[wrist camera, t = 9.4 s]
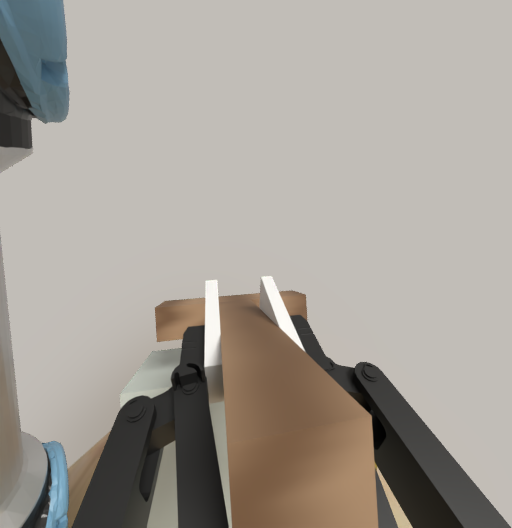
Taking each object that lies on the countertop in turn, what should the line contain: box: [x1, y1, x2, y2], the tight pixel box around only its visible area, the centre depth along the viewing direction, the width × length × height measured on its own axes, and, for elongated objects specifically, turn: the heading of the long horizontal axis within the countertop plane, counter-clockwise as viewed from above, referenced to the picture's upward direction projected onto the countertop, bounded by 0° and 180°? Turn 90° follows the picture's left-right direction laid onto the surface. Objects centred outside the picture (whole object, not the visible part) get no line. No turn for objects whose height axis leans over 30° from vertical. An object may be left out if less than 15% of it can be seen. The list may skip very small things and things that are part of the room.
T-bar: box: [155, 291, 378, 528], centre depth 15 cm, size 14×21×3 cm, turn 10°
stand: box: [120, 348, 232, 528], centre depth 26 cm, size 20×10×30 cm, turn 100°
